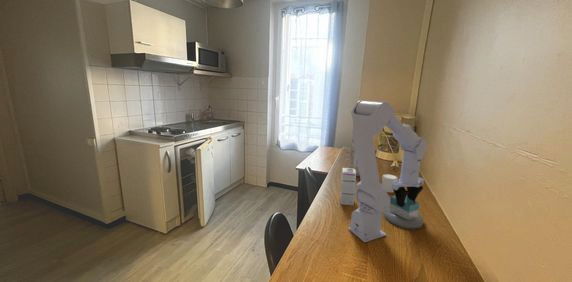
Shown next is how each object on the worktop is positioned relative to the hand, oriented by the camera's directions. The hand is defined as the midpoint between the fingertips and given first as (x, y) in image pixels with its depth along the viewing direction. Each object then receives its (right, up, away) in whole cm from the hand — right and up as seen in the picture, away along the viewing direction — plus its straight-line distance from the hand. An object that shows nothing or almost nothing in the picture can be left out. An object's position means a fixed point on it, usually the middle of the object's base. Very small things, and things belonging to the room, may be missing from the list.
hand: (405, 204), depth 84 cm
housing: (0, -4, +1) cm, 4 cm away
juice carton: (-3, +4, +47) cm, 48 cm away
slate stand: (0, -6, +1) cm, 6 cm away
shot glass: (+6, -1, +27) cm, 27 cm away
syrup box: (-18, -3, +14) cm, 23 cm away
